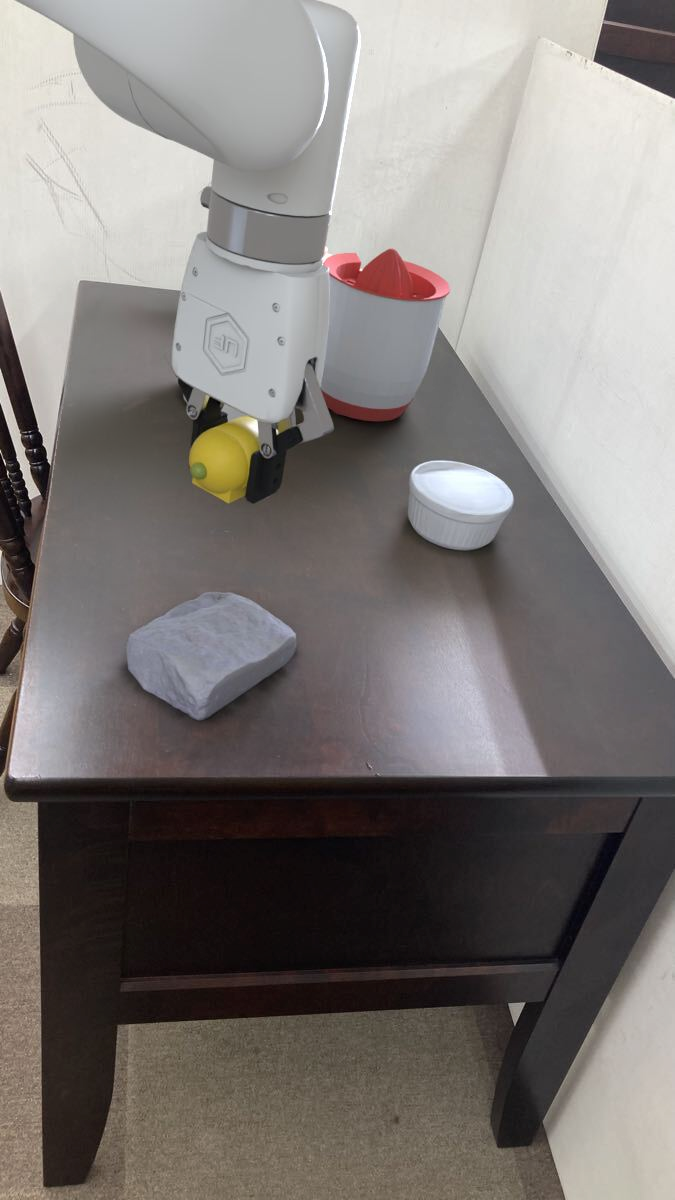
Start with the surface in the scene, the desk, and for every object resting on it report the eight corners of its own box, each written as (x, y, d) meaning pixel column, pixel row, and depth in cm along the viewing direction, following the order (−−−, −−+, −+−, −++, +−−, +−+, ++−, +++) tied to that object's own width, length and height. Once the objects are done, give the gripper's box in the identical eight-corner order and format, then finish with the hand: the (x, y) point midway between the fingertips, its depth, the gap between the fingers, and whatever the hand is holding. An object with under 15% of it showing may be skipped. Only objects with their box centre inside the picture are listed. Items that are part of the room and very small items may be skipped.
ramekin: (443, 490, 102) (455, 450, 99) (520, 539, 97) (535, 497, 94) (378, 516, 95) (388, 473, 92) (456, 570, 90) (470, 526, 87)
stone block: (112, 684, 71) (204, 732, 66) (107, 631, 68) (202, 677, 63) (216, 626, 79) (304, 665, 74) (214, 578, 77) (305, 615, 72)
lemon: (215, 517, 63) (223, 456, 60) (165, 488, 64) (170, 428, 62) (297, 476, 69) (307, 420, 67) (250, 451, 71) (258, 396, 68)
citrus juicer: (404, 379, 126) (439, 234, 114) (428, 437, 113) (470, 279, 101) (295, 366, 123) (319, 215, 111) (306, 424, 110) (335, 259, 98)
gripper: (127, 193, 57) (115, 449, 67) (342, 283, 50) (291, 549, 61) (207, 186, 62) (184, 423, 73) (410, 266, 56) (352, 513, 66)
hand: (233, 478), depth 67 cm, fingers closed on lemon, 4 cm apart
